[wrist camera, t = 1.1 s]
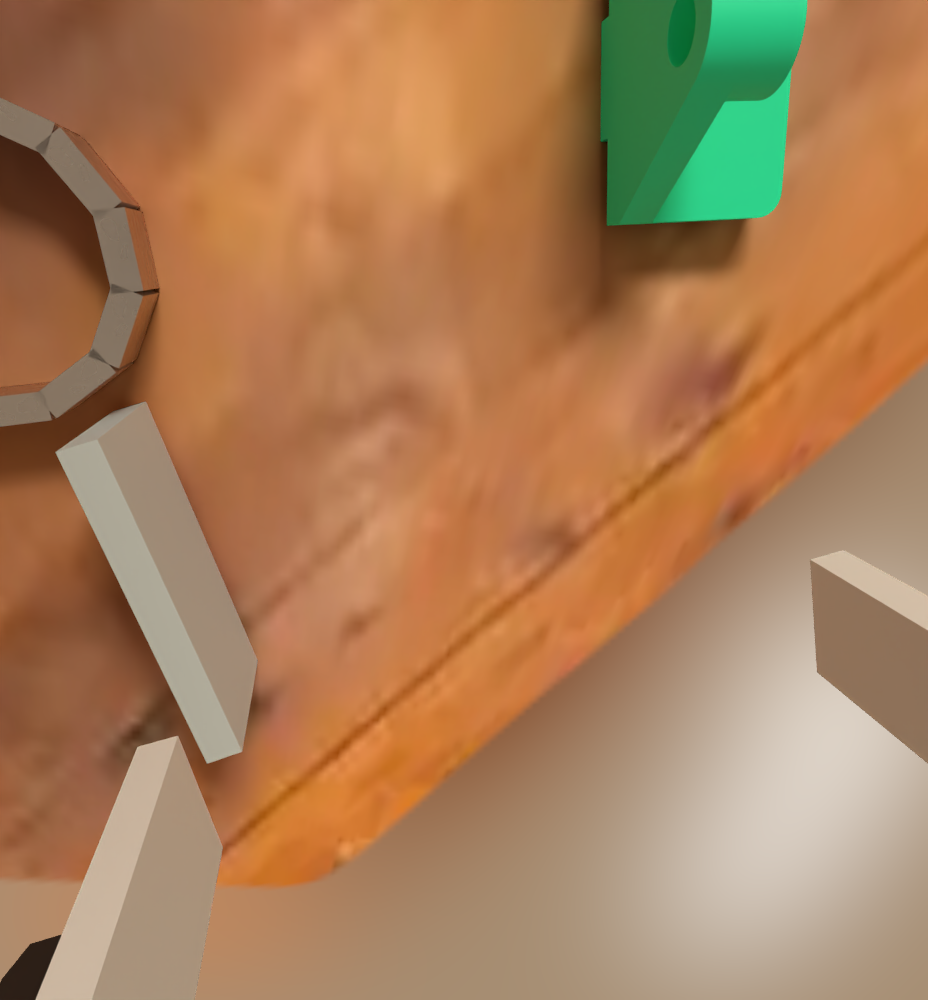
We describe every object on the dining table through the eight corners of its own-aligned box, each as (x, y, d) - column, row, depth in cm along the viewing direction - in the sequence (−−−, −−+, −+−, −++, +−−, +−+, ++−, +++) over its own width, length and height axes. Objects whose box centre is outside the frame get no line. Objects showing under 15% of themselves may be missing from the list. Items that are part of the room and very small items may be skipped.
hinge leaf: (229, 670, 38) (207, 763, 31) (112, 411, 33) (55, 452, 26) (257, 660, 38) (242, 751, 31) (145, 401, 33) (97, 439, 26)
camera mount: (748, 219, 36) (902, 204, 26) (598, 226, 35) (701, 213, 25) (768, -75, 32) (956, -218, 23) (600, -78, 31) (723, -229, 22)
